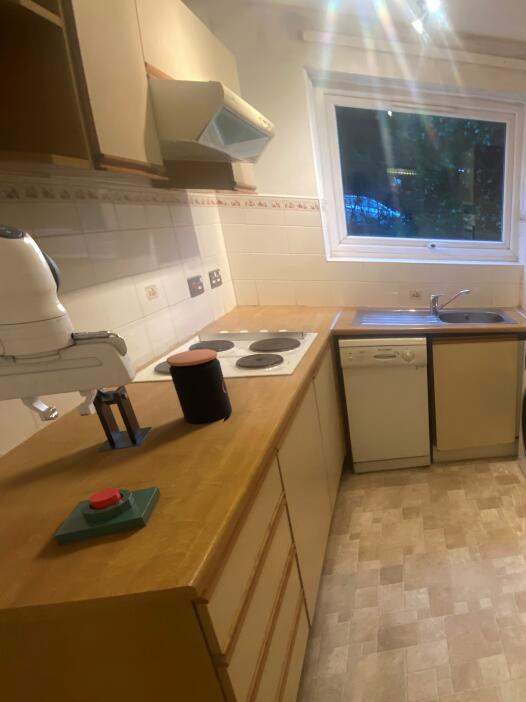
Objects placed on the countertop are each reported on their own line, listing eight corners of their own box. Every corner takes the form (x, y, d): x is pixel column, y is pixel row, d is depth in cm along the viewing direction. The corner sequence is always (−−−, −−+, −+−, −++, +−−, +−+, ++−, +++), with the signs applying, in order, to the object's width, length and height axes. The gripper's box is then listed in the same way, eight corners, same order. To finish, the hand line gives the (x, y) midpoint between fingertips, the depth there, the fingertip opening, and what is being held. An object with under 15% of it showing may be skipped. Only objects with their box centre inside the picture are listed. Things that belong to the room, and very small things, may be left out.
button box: (58, 546, 73) (49, 527, 72) (83, 510, 82) (75, 493, 80) (145, 526, 78) (138, 508, 76) (161, 495, 86) (154, 478, 85)
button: (88, 512, 76) (84, 504, 75) (97, 499, 79) (94, 491, 79) (117, 506, 78) (113, 498, 77) (124, 493, 81) (121, 485, 80)
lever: (89, 384, 89) (89, 368, 90) (67, 387, 88) (67, 371, 89) (123, 405, 102) (122, 391, 103) (103, 408, 100) (103, 393, 101)
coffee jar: (240, 416, 118) (224, 354, 111) (197, 432, 110) (176, 365, 103) (222, 406, 124) (205, 346, 117) (179, 420, 116) (158, 357, 109)
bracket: (141, 449, 102) (121, 396, 97) (98, 456, 99) (75, 402, 94) (153, 430, 111) (136, 380, 105) (114, 436, 108) (94, 385, 102)
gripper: (126, 324, 73) (152, 399, 78) (-43, 338, 65) (-2, 419, 71) (113, 334, 68) (141, 413, 73) (-73, 350, 60) (-27, 437, 65)
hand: (69, 416), depth 72 cm, fingers open, 3 cm apart
